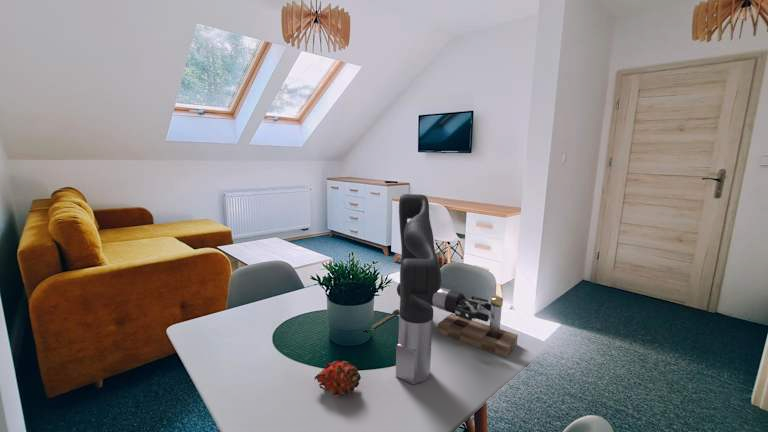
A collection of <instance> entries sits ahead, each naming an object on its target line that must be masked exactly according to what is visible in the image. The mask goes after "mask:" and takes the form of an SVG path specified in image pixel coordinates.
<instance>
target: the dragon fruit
mask: <svg viewBox="0 0 768 432" xmlns="http://www.w3.org/2000/svg"><path fill="white" fill-rule="evenodd" d="M361 378H362V377H361V374H360V373H359V370H358V368H357V367H355V365H353V364H352V365H351V362H348V361H345V360H341V361H340V360H335V361H334V360H333V362H330V363H327V364H326V366H325V368H324V369H322V370H321V371H320V372H319V373H318V374H317V375H315V377H314V381H316V380H317V382H318V386H319V388H320V389H322V390H323V392H324V394H326V393H328V392H329V391H333V396H334V397H338V396H340V395H341V394H342V395H345V394H348V393H349V392H354V391H355V388H358V387H359V385H360V380H361Z"/></svg>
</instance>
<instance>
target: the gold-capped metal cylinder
mask: <svg viewBox="0 0 768 432" xmlns="http://www.w3.org/2000/svg"><path fill="white" fill-rule="evenodd" d="M503 302H504V298H503V297H501V296H496V295H495V296H491V298H490V304H491V311H490V316H489V326H490V327H489V337H492V338H495V339H498V340H499V332H500V329H501V319H502V308H503Z"/></svg>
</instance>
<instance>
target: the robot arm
mask: <svg viewBox="0 0 768 432" xmlns="http://www.w3.org/2000/svg"><path fill="white" fill-rule="evenodd" d="M398 215H399V216H398V217H399V218H398V220H399V235H400V243H401V247H400V248H401V261H400V267H399V283H398V285H397V286H396V292H397V295H398V296H399V313H398V314H399V315H398V340H397V341H398V343H397V344H396V353H395V354H396V355H395V357H396V358H395V359H396V360H395V377H397V378H399V379H401V380H403V381H405V382H407V383H409V384H411V385H416V384H418V383H423V382H426V381H427V380H428V379H429V378H430V375H431V364H432V363H431V360H432V359H431V358H432V341H433V325H434V324H433V323H434V308H437V309H439V310H441V311H444V312H448V313H450V314H455V315H456V316H459V317H461V318H464V319H467V320H470V321H471V320H479V321H482V322H488V321H490V316H489V314H487V313H484V312H481V310H484V311H489V312H491V303H489V300H488V299H485V298H481V297H479V296H475V295H474V296H473V295H472V296H471V298H466V297H465V294H464V293H462V292H459V291H456V290H451V289H449V288H445V287H441V286H442V273H441V267H440V264H439V262H440V261H439V260H438V256H437V253H436V249H435V241H434V235H433V228H432V224H431V220H430V218H431V217H430V204H429V199H428V197H427V196H426V195H424V194H418V193H416V194H414V193H413V194H412V193H411V194H410V193H406V194H405V193H403V194H401V195H400V197H399V202H398ZM409 219H410V220H409Z"/></svg>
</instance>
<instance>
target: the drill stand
mask: <svg viewBox="0 0 768 432" xmlns="http://www.w3.org/2000/svg"><path fill="white" fill-rule="evenodd" d="M489 327H490V324H486V323H483V322H479V321H475V320H474V319H472V320H471V321H470V320H467V319H464V318H461V317H459V316H456V315H455V314H454V313H450V314H449V315H447V316H445V318H443V319H442V320H441V321H439V322H438V324H437V333H438V334H441V335H444V336H446V337H449V338H452V339H454V340H457V341H460V342H463V343H466V344H468V345H471V346H473V347H476V348H479V349H482V350H485V351H487V352H490V353H492V354H495V355H499V356H501V357H504V358H506V359H508V357H509V356H510V354H511V353H512V352H513V350H514V349H515V348H516V346H517V345H518V337H519V336H518V334H517V333H513V332H511V331H507V330H504V329H501V328H500V332H499V340H498V339H495V338H492V337H489Z"/></svg>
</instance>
